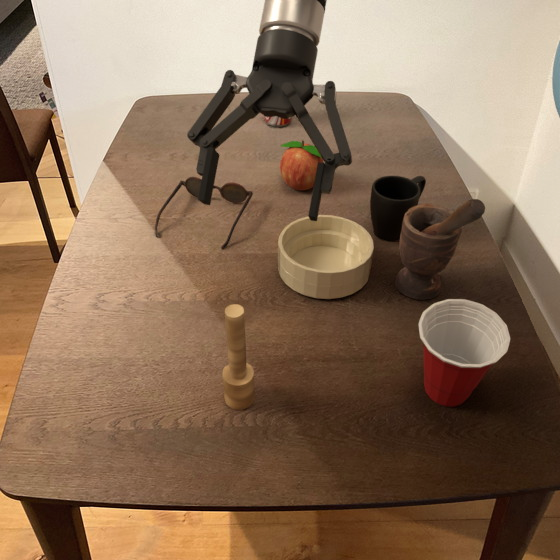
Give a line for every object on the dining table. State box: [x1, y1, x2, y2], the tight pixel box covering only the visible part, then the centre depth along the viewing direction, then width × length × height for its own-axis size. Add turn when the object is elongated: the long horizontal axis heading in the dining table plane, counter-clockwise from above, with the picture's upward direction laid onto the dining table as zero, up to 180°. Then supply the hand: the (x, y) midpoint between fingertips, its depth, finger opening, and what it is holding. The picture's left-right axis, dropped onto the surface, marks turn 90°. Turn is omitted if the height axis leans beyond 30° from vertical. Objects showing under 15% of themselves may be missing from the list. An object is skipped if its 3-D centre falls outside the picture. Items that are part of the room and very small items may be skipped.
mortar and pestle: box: [394, 198, 486, 301], centre depth 86 cm, size 12×9×20 cm
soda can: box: [264, 116, 292, 128], centre depth 134 cm, size 6×6×12 cm
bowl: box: [277, 214, 375, 300], centre depth 95 cm, size 15×15×6 cm
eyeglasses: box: [154, 176, 254, 250], centre depth 105 cm, size 15×15×5 cm
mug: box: [369, 175, 427, 243], centre depth 103 cm, size 8×12×10 cm
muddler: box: [222, 303, 256, 410], centre depth 71 cm, size 4×4×16 cm
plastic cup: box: [417, 298, 511, 408], centre depth 74 cm, size 11×11×12 cm
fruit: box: [279, 139, 325, 191], centre depth 113 cm, size 9×10×10 cm
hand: (257, 211), depth 70 cm, fingers open, 13 cm apart
